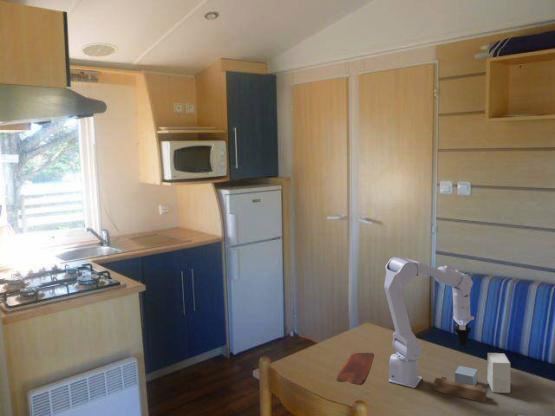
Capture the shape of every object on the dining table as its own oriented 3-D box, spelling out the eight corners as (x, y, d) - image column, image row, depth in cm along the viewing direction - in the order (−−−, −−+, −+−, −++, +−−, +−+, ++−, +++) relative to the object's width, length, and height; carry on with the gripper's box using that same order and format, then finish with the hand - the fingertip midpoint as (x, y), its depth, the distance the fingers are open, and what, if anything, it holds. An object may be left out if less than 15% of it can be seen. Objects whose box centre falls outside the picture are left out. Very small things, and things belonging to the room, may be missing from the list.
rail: (434, 390, 166) (434, 380, 165) (437, 385, 169) (437, 375, 168) (484, 402, 157) (484, 392, 156) (487, 396, 160) (487, 386, 160)
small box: (510, 393, 161) (510, 363, 160) (492, 392, 162) (492, 362, 161) (504, 381, 169) (504, 352, 168) (487, 381, 170) (487, 352, 169)
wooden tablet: (363, 386, 172) (362, 382, 171) (335, 382, 175) (335, 378, 175) (377, 355, 196) (377, 351, 196) (352, 352, 200) (352, 348, 200)
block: (454, 385, 169) (454, 372, 168) (459, 377, 174) (459, 365, 173) (473, 389, 166) (473, 376, 165) (477, 381, 170) (477, 369, 170)
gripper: (474, 313, 169) (475, 350, 171) (472, 298, 182) (474, 333, 184) (452, 312, 171) (454, 349, 173) (452, 298, 185) (454, 332, 187)
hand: (463, 340), depth 179 cm, fingers open, 7 cm apart
